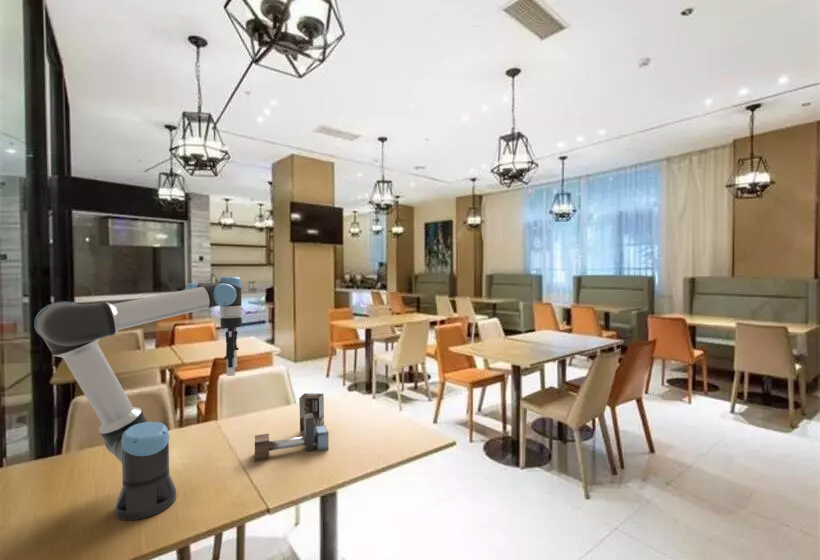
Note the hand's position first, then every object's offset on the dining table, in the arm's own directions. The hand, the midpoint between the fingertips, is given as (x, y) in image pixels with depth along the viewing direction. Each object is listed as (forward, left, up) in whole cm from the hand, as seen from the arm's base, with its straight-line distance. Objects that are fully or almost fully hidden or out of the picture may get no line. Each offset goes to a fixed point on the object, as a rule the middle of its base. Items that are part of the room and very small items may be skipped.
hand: (232, 371), depth 150 cm
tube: (-8, -23, -31) cm, 40 cm away
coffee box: (+8, -31, -32) cm, 45 cm away
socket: (-8, -33, -32) cm, 46 cm away
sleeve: (-8, -10, -32) cm, 34 cm away
